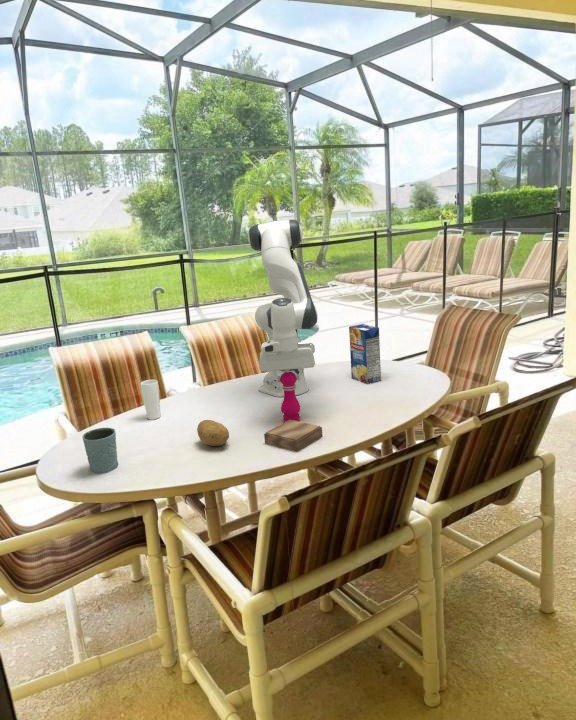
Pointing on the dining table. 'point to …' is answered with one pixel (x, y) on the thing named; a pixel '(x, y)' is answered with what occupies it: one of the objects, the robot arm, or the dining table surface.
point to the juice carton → (365, 353)
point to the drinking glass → (151, 398)
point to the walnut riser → (293, 435)
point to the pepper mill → (289, 397)
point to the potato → (212, 433)
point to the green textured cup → (101, 450)
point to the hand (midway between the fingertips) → (288, 380)
